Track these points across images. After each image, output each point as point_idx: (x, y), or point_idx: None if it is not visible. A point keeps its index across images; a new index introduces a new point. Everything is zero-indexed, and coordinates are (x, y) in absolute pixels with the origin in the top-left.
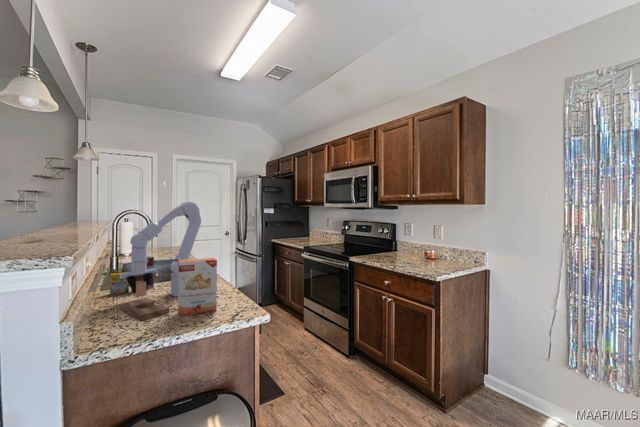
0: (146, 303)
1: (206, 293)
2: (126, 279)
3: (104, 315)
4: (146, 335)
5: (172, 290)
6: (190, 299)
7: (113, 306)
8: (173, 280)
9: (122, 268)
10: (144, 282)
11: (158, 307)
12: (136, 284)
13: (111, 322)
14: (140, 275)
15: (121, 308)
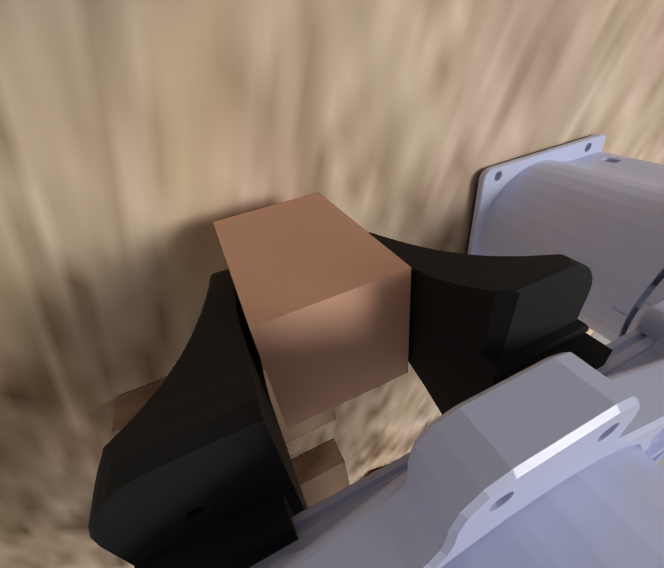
0: (288, 438)
1: None
2: (116, 437)
3: (7, 498)
4: None
5: (501, 255)
6: None
7: (13, 329)
8: (582, 311)
9: None
10: (386, 379)
11: (321, 495)
12: (287, 418)
13: (100, 561)
14: None
15: (119, 400)
